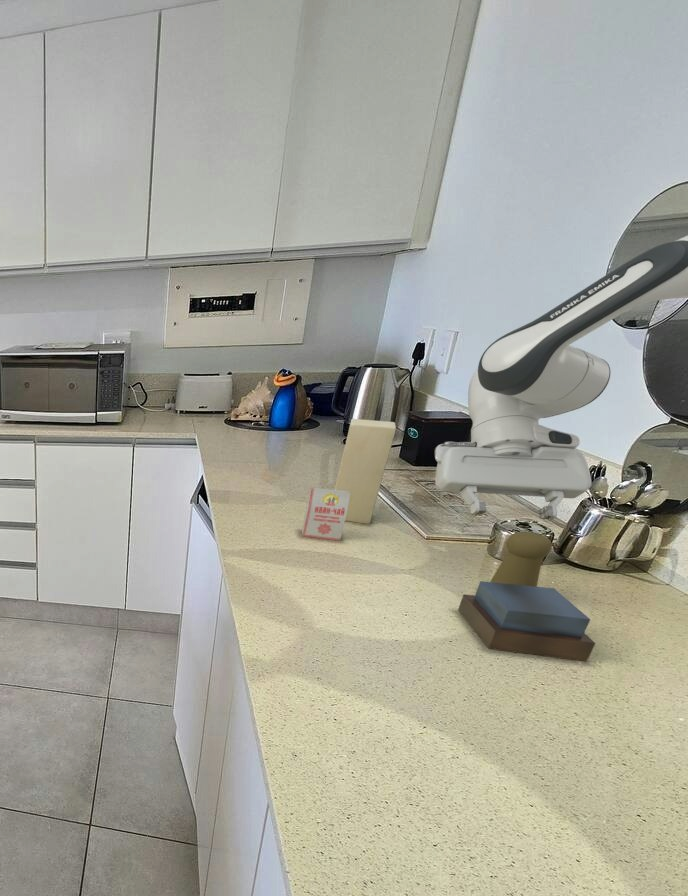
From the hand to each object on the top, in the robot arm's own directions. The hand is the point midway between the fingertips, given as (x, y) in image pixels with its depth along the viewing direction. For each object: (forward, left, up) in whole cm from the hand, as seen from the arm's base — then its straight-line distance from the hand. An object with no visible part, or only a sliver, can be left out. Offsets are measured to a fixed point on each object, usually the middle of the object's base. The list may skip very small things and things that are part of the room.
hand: (513, 515), depth 96 cm
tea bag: (+24, -13, -12) cm, 30 cm away
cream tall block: (+16, -26, -12) cm, 33 cm away
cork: (0, +7, -12) cm, 14 cm away
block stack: (+4, +20, -12) cm, 23 cm away
